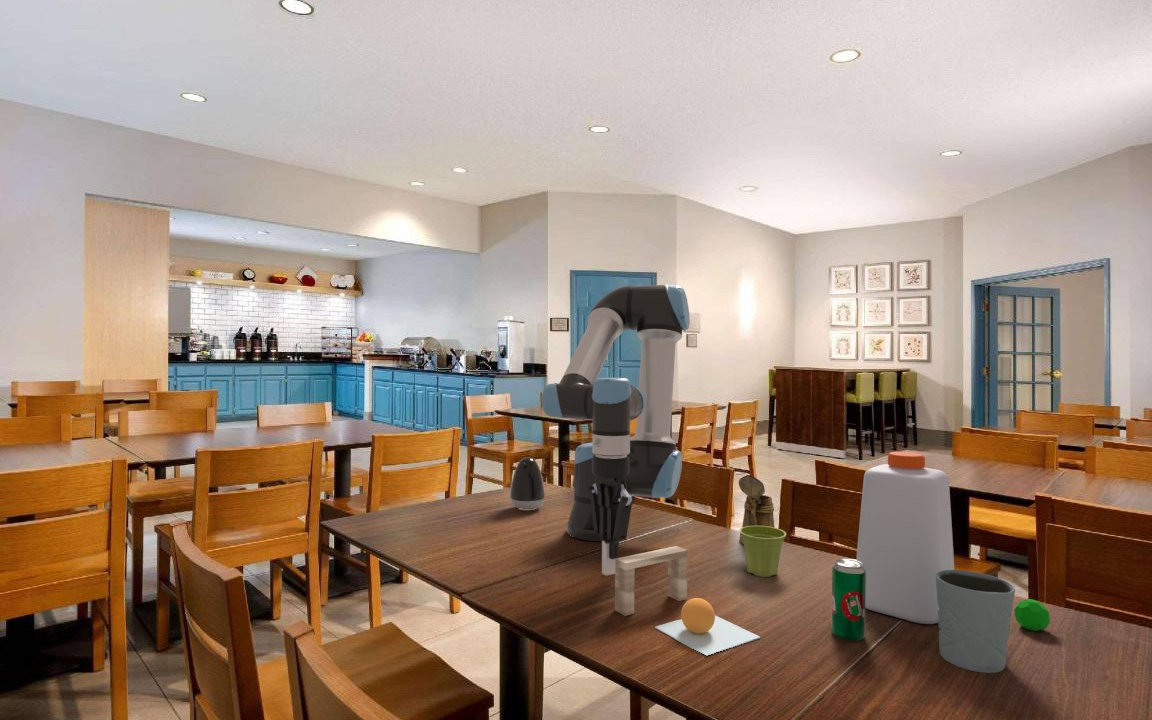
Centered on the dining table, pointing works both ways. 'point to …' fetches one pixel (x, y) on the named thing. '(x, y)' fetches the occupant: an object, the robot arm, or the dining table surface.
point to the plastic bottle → (905, 537)
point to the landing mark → (709, 636)
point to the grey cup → (974, 619)
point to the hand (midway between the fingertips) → (609, 573)
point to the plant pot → (762, 549)
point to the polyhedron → (1032, 615)
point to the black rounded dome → (527, 485)
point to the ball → (698, 615)
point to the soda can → (848, 599)
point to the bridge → (629, 563)
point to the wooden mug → (756, 504)
